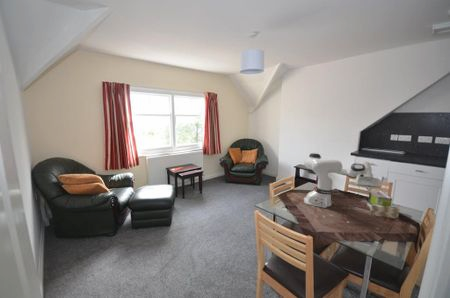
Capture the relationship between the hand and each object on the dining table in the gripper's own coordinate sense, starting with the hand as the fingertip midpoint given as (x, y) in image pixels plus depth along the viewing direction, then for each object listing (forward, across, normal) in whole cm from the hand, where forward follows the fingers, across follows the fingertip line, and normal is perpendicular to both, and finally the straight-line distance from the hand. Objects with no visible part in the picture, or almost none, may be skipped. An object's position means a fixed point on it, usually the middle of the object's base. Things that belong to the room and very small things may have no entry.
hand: (369, 191), depth 186 cm
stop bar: (+27, 0, +15) cm, 31 cm away
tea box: (+21, +1, +9) cm, 22 cm away
